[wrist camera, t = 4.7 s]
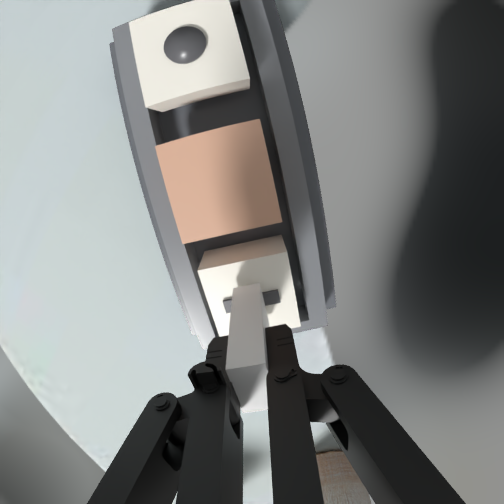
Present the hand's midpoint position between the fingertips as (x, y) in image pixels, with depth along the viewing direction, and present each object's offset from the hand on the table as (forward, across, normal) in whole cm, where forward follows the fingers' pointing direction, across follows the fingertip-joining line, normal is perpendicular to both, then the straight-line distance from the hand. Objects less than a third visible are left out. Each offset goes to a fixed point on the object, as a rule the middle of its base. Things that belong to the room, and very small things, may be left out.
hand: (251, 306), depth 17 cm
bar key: (+3, 0, 0) cm, 3 cm away
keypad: (+6, 0, +7) cm, 9 cm away
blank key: (+2, 0, +7) cm, 7 cm away
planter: (+6, +3, -33) cm, 34 cm away
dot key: (+2, 0, +14) cm, 14 cm away
